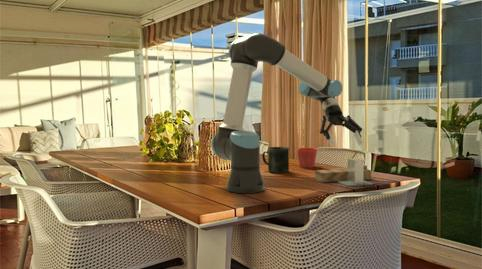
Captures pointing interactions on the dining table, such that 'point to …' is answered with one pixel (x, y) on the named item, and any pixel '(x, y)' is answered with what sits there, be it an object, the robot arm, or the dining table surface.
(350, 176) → the white rectangular block
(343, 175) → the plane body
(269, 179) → the dining table surface
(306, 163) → the flower pot
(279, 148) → the mug
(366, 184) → the mat
